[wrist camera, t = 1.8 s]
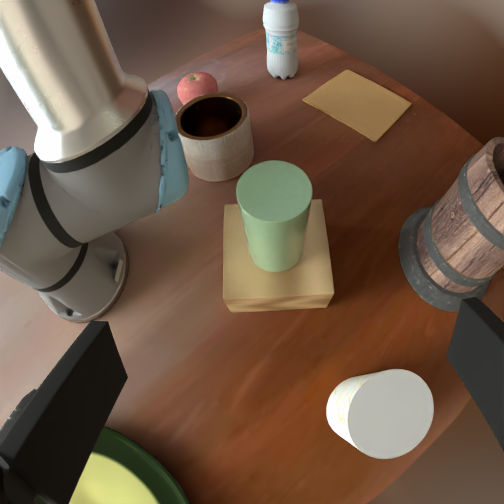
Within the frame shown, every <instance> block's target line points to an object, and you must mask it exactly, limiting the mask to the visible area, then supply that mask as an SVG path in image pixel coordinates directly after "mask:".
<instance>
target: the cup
mask: <svg viewBox="0 0 504 504" xmlns="http://www.w3.org/2000/svg"><path fill="white" fill-rule="evenodd" d="M326 411H327V419H328V422H329V424H330V426H331V428H332V429H333V430H334V431H335V432H336V433H337V434H338V435H339V436H341V437H342V438H344V439H345V440H346V441H348V442H349V443H350V444H352V445H353V446H355V447H356V448H357V449H359V450H360V451H362V452H363V453H365V454H366V455H368V456H371V457H374V458H379V459H390V458H395V457H399V456H401V455H404V454H406V453H407V452H409V451H411V450H412V449H413V448H415V447H416V446H417V445H418V444H419V443H420V442H421V441H422V439H423V438H424V437H425V435H426V433H427V432H428V430H429V428H430V425H431V422H432V418H433V412H434V404H433V398H432V394H431V391H430V389H429V387H428V386H427V384H426V383H425V382H424V381H423V379H421V378H420V377H419V376H418V375H416V374H414V373H412V372H410V371H407V370H402V369H391V370H386V371H381V372H376V373H372V374H367V375H361V376H356V377H352V378H349V379H347V380H345V381H343V382H342V383H340V384H339V385H338V386H337V387H336V388H335V389H334V391H333V392H332V394H331V395H330V397H329V400H328V403H327V410H326Z"/></svg>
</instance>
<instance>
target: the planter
mask: <svg viewBox="0 0 504 504" xmlns="http://www.w3.org/2000/svg"><path fill="white" fill-rule="evenodd" d="M175 119H176V123H177V128H178V132H179V133H178V135H179V136H180V139H181V142H182V146H183V150H184V154H185V159H186V162H187V165H188V167H189V169H190V171H191V172H192V173H193V174H194V175H195V176H196V177H198V178H200V179H202V180H205V181H210V182H221V181H226V180H230V179H233V178H235V177H237V176H239V175H240V174H242V173H243V172H244V171H245V170H246V169H247V168H248V167H249V166H250V164H251V162H252V160H253V156H254V146H253V139H252V132H251V125H250V117H249V110H248V106H247V104H246V103H245V101H244V100H242V99H241V98H240V97H238V96H236V95H233V94H229V93H221V92H218V93H209V94H204V95H201V96H198V97H196V98H194V99H192V100H190V101H188V102H187V103H186V104H184V105H183V106H182V107H181V108H180V109H179V110H178V112H177V113H176V115H175Z"/></svg>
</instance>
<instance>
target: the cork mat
mask: <svg viewBox="0 0 504 504" xmlns="http://www.w3.org/2000/svg"><path fill="white" fill-rule="evenodd" d="M303 102H305V103H307V104H309V105H311V106H313V107H315V108H317V109H319V110H320V111H322V112H324V113H326V114H328V115H330V116H331V117H333V118H335V119H337V120H338V121H340V122H342V123H344V124H345V125H347V126H349V127H351V128H352V129H354V130H356V131H357V132H359V133H361V134H362V135H364V136H365V137H367V138H369V139H370V140H372V141H373V142H375V143H376V142H377V141H378V140H379V139H380V138H381V137H382V135H383V134H384V133H385V132H386V131H387V130H388V129H389V128H390V127H391V126H392V125H393V124H394V123H395V122H396V121H397V120H398V119H399V118H400V117H401V116H402V115H403V113H404V112H405V111H406V110H407V109H408V108H409V107H410V106H411V105H412V103H410V102H408V101H406V100H405V99H403V98H401V97H400V96H398V95H396V94H394V93H393V92H391V91H389V90H387V89H385V88H383V87H382V86H380V85H378V84H376V83H374V82H372V81H370V80H368V79H366V78H364V77H362V76H360V75H358V74H356V73H354V72H352V71H350V70H348V69H346V70H345V71H343V72H342V73H340V74H339V75H337V76H336V77H334V78H333V79H331V80H330V81H328V82H327V83H325V84H324V85H323V86H321V87H320V88H318V89H317V90H315V91H314V92H312V93H311V94H310V95H308V96H307V97H305V98H304V99H303Z"/></svg>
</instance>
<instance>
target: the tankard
mask: <svg viewBox="0 0 504 504" xmlns="http://www.w3.org/2000/svg"><path fill="white" fill-rule="evenodd" d="M398 251H399V259H400V263H401V266H402V269H403V272H404V274H405V276H406V278H407V280H408V282H409V283H410V285H411V286H412V288H413V289H414V290H415V292H416V293H417V294H418V295H419V296H420V297H421V298H422V299H423V300H425V301H426V302H428V303H429V304H430V305H432V306H434V307H436V308H438V309H441V310H444V311H449V312H459V308H460V304H461V299H465V298H471V297H477V298H478V299H479V300H481V299H482V298H483V297H484V295H485V293H486V292H487V290H488V287H489V284H490V279H492V278H493V277H494V276H495V275H496V274H497V273H498V272H499V270H500V268H502V267H503V266H504V138H503V137H496V138H493V139H492V140H490V141H489V142H488V143H487V144H486V145H485V146H484V147H483V148H482V149H481V150H480V151H479V152H478V153H477V154H475V155H473V156H472V157H470V158H469V160H468V161H467V162H466V164H465V165H464V166H463V168H462V169H461V171H460V174H459V177H458V178H457V179H456V181H455V182H454V183H453V185H452V186H451V187H450V189H449V190H448V191H447V192H446V194H445V195H444V196H443V197H442V198H440V199H439V200H438V201H437V202H436V203H435V204H434V205H433V206H431V207H425V208H422V209H419V210H417V211H416V212H414V213H413V214H411V215H410V217H409V218H408V219H407V220H406V221H405V223H404V225H403V227H402V229H401V232H400V236H399V244H398Z"/></svg>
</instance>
